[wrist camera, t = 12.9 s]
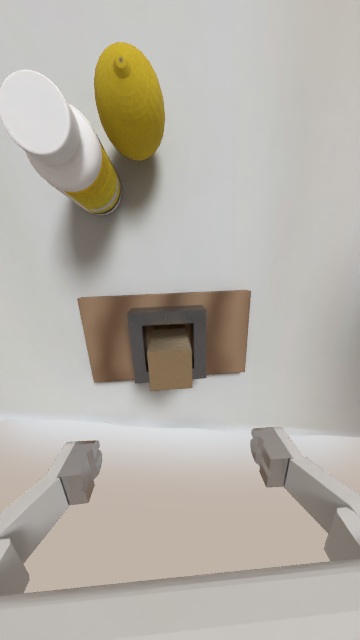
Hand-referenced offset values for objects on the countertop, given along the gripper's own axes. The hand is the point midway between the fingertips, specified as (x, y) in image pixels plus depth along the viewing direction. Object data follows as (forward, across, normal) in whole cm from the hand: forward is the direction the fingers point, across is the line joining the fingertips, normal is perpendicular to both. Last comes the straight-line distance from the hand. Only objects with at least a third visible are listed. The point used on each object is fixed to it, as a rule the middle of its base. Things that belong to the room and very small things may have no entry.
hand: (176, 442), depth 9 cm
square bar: (+15, 0, 0) cm, 15 cm away
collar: (+15, +1, 0) cm, 15 cm away
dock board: (+16, +1, 0) cm, 16 cm away
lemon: (+17, +3, -22) cm, 27 cm away
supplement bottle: (+17, +8, -18) cm, 25 cm away
